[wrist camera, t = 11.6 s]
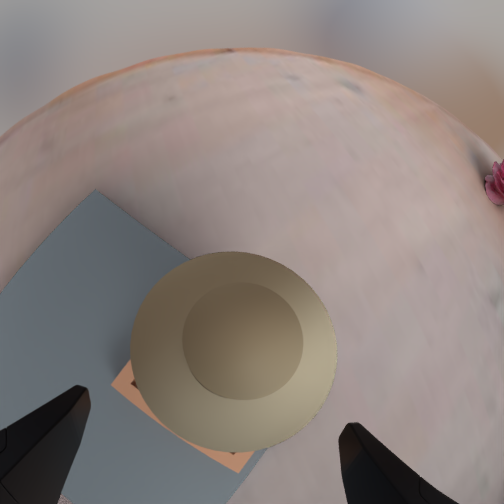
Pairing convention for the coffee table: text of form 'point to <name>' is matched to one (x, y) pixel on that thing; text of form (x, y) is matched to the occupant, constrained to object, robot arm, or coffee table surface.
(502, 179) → the flower
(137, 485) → the board
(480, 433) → the coffee table surface
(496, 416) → the coffee table surface
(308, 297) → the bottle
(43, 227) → the coffee table surface
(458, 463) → the coffee table surface
